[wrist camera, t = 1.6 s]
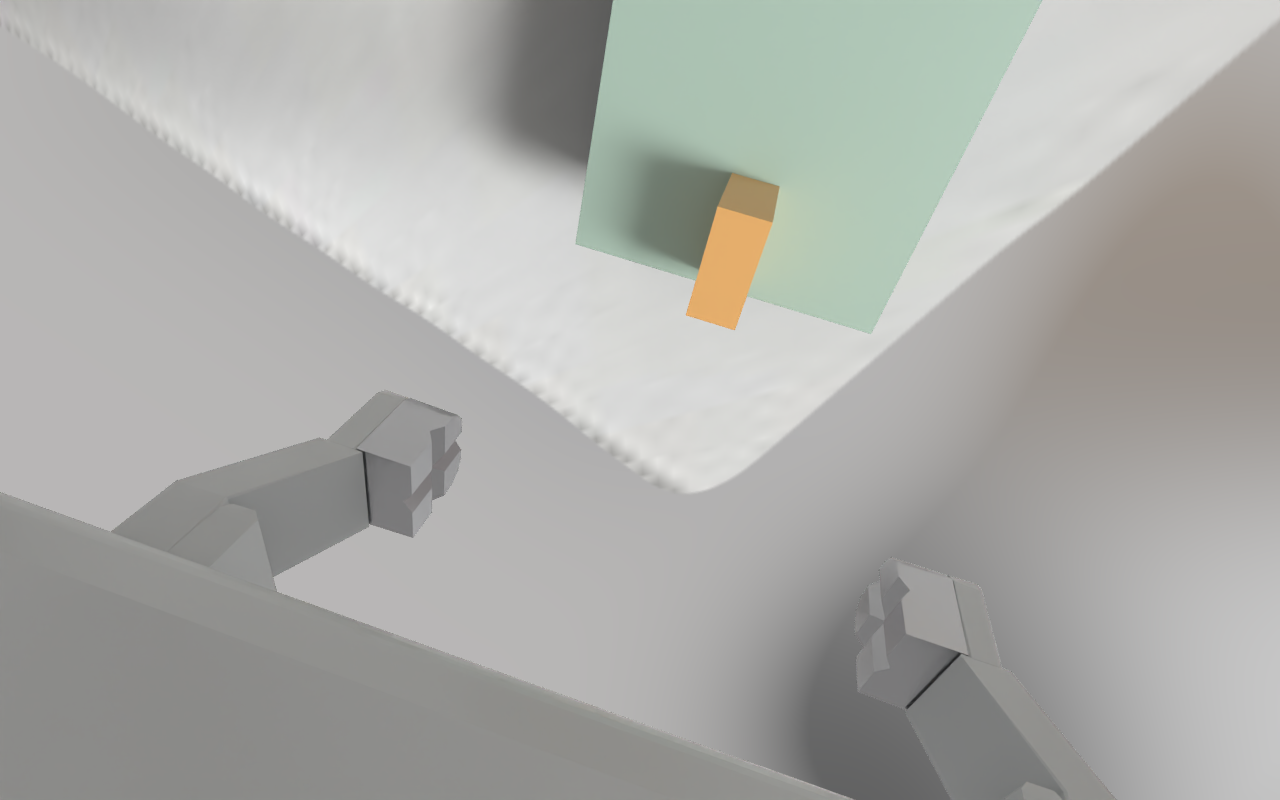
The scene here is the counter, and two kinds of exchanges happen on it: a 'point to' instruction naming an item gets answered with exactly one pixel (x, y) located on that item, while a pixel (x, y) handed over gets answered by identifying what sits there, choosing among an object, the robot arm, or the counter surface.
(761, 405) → the counter surface
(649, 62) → the lid
